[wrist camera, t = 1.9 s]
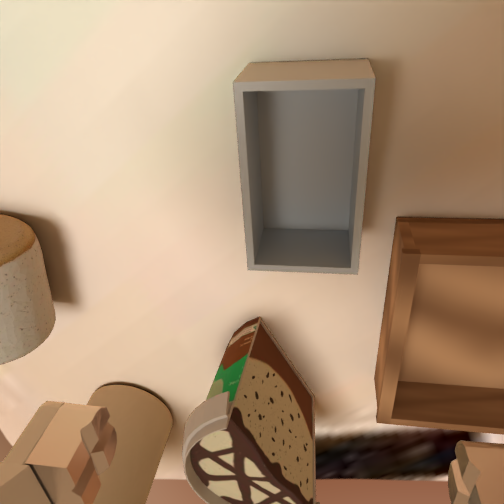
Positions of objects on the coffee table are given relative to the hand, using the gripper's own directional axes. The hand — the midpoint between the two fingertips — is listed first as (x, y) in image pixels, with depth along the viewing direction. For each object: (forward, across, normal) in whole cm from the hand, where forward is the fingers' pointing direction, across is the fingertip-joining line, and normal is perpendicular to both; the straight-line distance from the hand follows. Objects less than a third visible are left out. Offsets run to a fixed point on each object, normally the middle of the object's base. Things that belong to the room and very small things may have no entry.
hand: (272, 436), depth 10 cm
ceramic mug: (+18, +23, +8) cm, 30 cm away
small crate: (+18, 0, 0) cm, 18 cm away
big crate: (+18, -11, +11) cm, 24 cm away
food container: (+18, +4, +18) cm, 26 cm away
